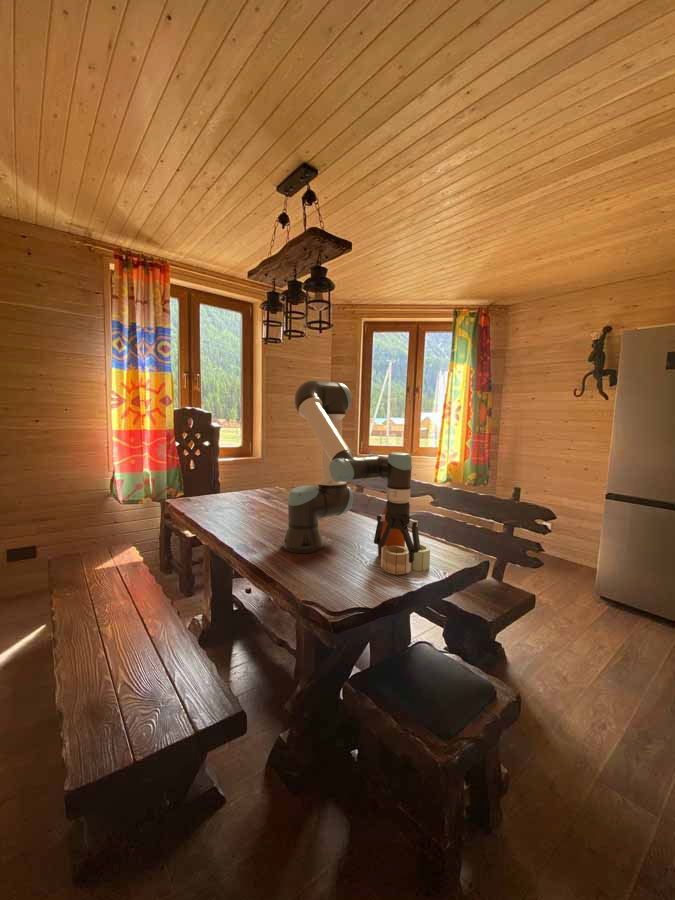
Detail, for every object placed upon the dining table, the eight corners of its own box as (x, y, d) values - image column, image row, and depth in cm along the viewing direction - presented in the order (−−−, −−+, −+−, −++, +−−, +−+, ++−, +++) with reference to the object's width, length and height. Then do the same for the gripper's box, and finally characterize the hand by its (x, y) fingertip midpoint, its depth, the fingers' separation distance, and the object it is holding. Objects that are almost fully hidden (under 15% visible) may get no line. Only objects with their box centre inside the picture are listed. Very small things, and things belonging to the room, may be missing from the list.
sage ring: (405, 569, 125) (405, 550, 124) (405, 560, 133) (406, 542, 132) (429, 571, 123) (430, 552, 123) (428, 562, 131) (429, 544, 131)
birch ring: (379, 570, 121) (380, 551, 121) (389, 562, 128) (389, 543, 127) (402, 576, 117) (403, 556, 117) (411, 567, 124) (412, 548, 123)
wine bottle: (389, 563, 129) (391, 478, 127) (372, 554, 138) (373, 474, 135) (410, 558, 135) (412, 476, 132) (392, 550, 143) (394, 472, 140)
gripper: (364, 498, 122) (362, 564, 125) (426, 507, 112) (422, 580, 114) (374, 494, 129) (372, 557, 131) (433, 502, 118) (430, 571, 120)
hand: (395, 568), depth 123 cm, fingers closed on birch ring, 8 cm apart
